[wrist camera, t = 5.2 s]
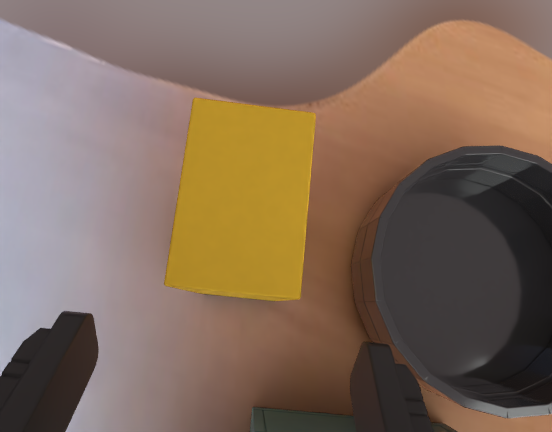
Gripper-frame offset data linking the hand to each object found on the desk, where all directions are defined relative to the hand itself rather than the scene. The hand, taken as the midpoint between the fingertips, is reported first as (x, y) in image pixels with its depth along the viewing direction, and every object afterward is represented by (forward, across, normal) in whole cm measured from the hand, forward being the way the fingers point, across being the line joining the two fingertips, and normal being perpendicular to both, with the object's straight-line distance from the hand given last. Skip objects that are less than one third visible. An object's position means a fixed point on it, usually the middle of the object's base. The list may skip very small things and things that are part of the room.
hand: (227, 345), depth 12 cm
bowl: (+9, -12, +4) cm, 16 cm away
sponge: (+10, 0, +3) cm, 10 cm away
